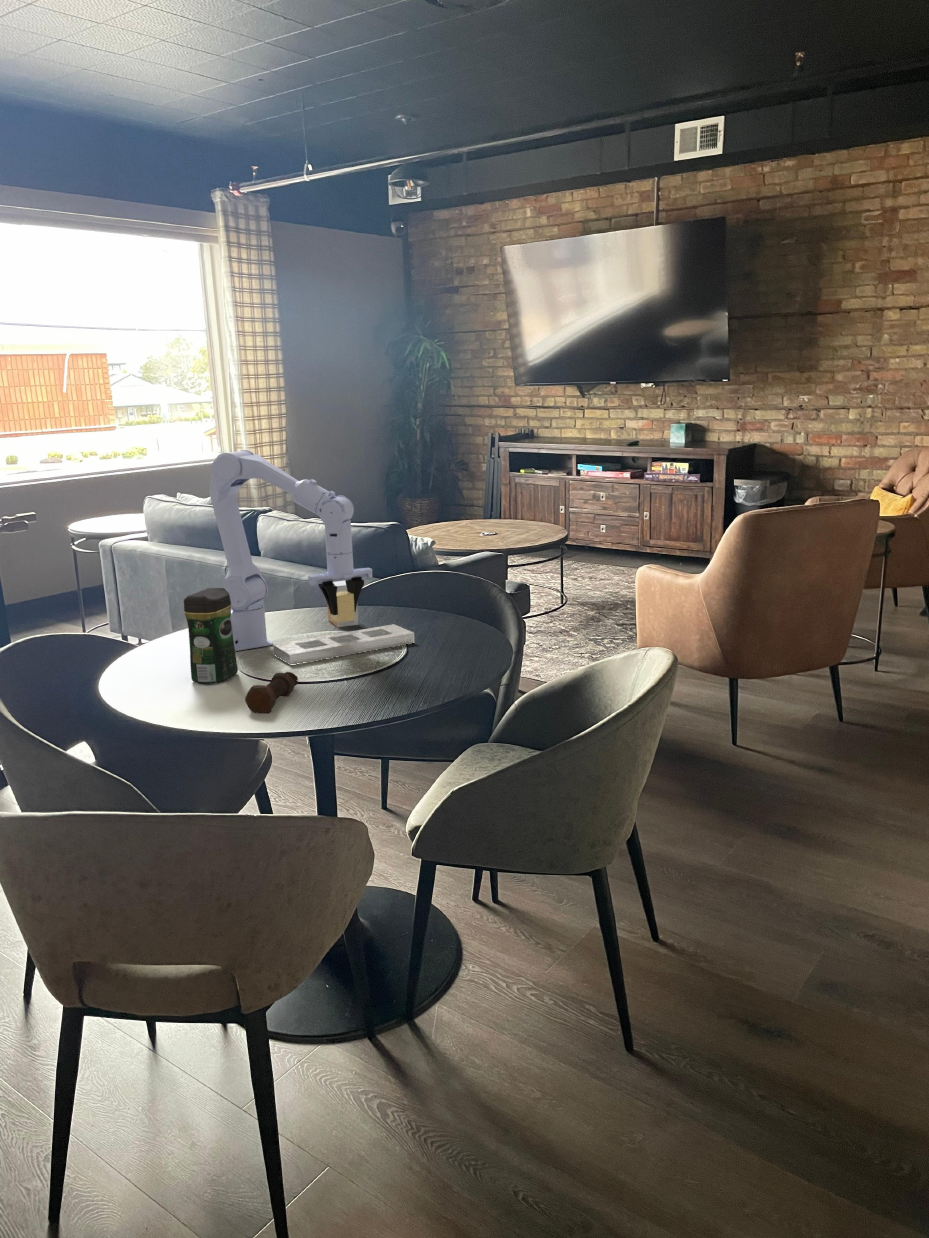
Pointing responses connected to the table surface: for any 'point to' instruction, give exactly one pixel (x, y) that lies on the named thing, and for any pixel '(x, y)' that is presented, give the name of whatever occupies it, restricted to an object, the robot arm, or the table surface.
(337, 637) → the board
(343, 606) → the block
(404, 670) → the table surface
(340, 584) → the small box
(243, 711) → the table surface
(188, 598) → the coffee jar
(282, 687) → the bolt
